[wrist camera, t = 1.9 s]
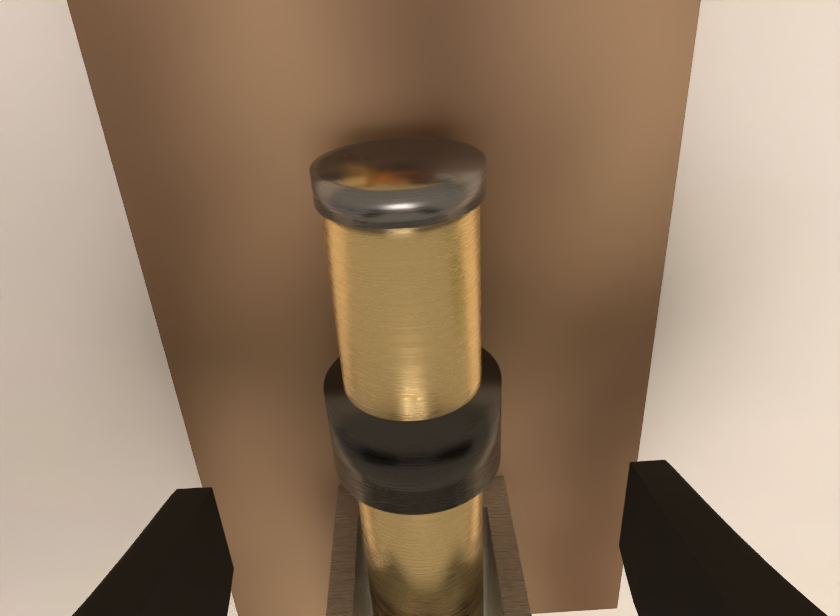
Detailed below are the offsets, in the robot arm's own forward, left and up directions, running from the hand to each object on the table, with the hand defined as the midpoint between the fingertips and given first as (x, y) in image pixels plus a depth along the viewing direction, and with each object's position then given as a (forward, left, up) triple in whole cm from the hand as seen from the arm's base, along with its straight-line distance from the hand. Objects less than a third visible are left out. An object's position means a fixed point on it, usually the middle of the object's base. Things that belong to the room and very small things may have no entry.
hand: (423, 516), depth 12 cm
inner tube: (0, -2, -5) cm, 5 cm away
